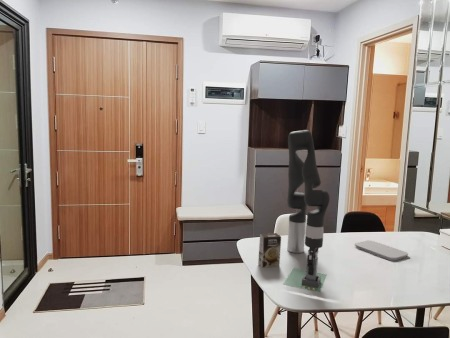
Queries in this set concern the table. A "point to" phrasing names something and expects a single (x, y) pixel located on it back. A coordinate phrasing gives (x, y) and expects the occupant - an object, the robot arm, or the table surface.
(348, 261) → the table surface
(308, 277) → the plug
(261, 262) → the coffee box
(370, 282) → the table surface
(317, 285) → the board
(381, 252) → the tablet
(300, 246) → the robot arm
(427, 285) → the table surface
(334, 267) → the table surface
